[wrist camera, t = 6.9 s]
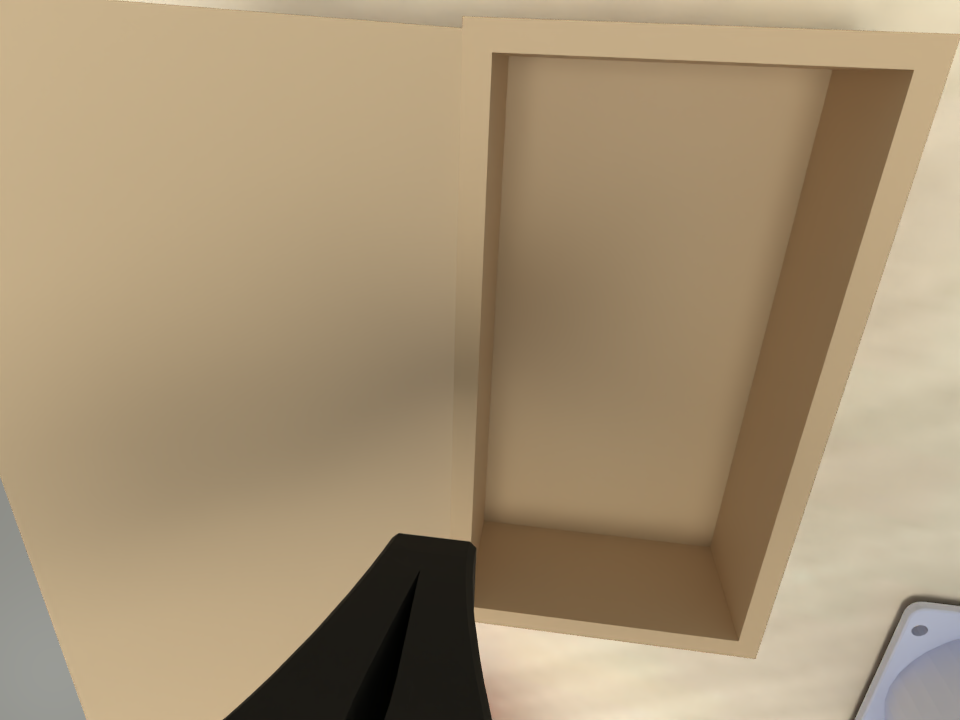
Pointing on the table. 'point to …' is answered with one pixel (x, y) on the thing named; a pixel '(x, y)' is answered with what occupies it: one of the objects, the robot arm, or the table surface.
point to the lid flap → (220, 328)
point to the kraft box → (664, 306)
